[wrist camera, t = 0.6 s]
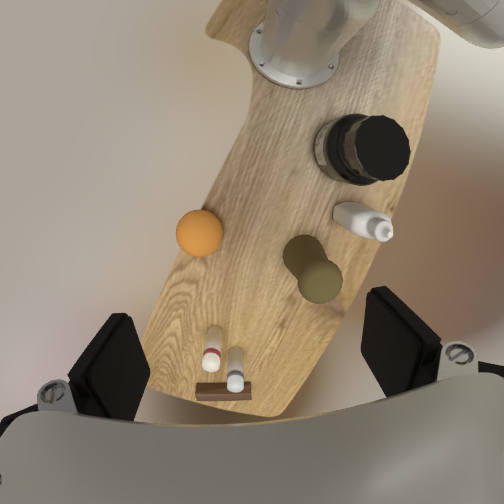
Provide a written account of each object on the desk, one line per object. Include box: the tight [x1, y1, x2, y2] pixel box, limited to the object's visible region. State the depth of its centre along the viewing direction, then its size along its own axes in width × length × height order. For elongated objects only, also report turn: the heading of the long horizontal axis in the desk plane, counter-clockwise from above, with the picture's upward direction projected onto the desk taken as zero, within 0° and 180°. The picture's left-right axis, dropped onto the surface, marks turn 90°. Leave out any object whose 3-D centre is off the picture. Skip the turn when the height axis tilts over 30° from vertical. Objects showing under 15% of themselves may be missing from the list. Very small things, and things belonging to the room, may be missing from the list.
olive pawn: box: [283, 235, 343, 304], centre depth 34 cm, size 6×6×11 cm
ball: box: [176, 210, 223, 257], centre depth 35 cm, size 6×6×6 cm
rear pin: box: [227, 347, 244, 393], centre depth 40 cm, size 2×2×8 cm
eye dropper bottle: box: [333, 202, 393, 242], centre depth 32 cm, size 4×6×12 cm
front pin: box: [202, 325, 223, 372], centre depth 39 cm, size 2×2×8 cm
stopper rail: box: [195, 382, 252, 401], centre depth 45 cm, size 2×10×3 cm, turn 93°
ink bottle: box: [314, 114, 411, 186], centre depth 29 cm, size 10×9×12 cm
